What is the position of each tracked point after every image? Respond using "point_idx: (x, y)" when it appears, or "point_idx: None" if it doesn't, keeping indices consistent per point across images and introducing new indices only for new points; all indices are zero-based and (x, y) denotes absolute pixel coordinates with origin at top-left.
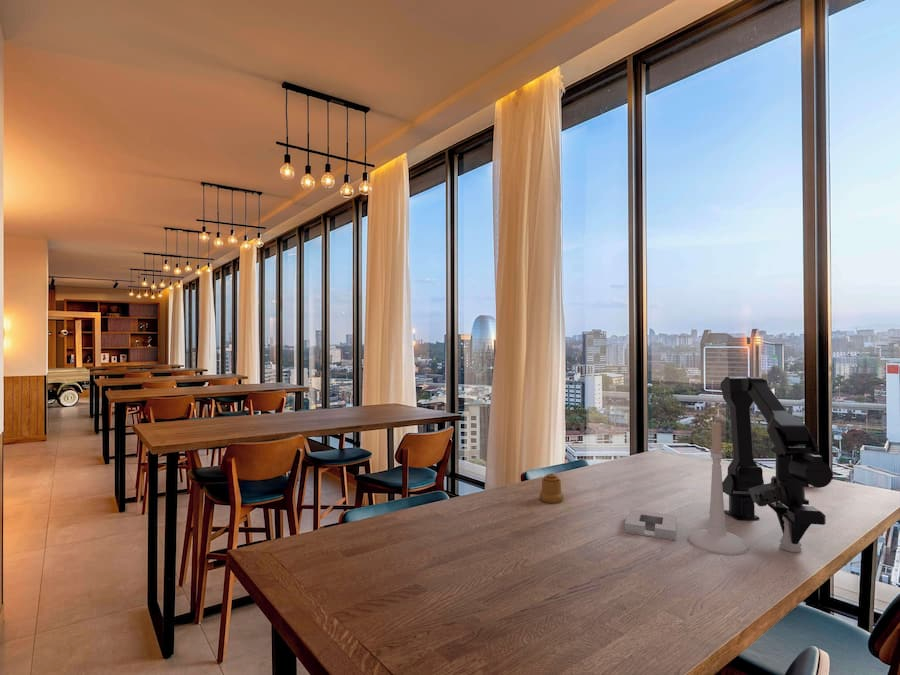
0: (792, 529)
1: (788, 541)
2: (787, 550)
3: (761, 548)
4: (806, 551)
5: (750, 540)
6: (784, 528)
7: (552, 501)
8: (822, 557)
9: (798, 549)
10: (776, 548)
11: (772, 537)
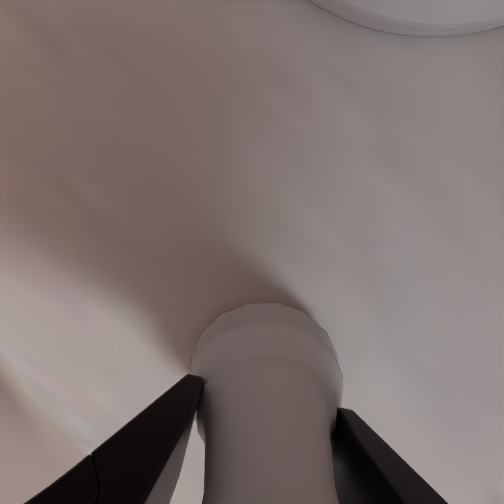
0: (51, 489)
1: (224, 365)
2: (225, 314)
3: (294, 140)
4: None
5: (467, 160)
6: (304, 463)
7: None
8: None
9: None
10: (284, 268)
11: (482, 380)
